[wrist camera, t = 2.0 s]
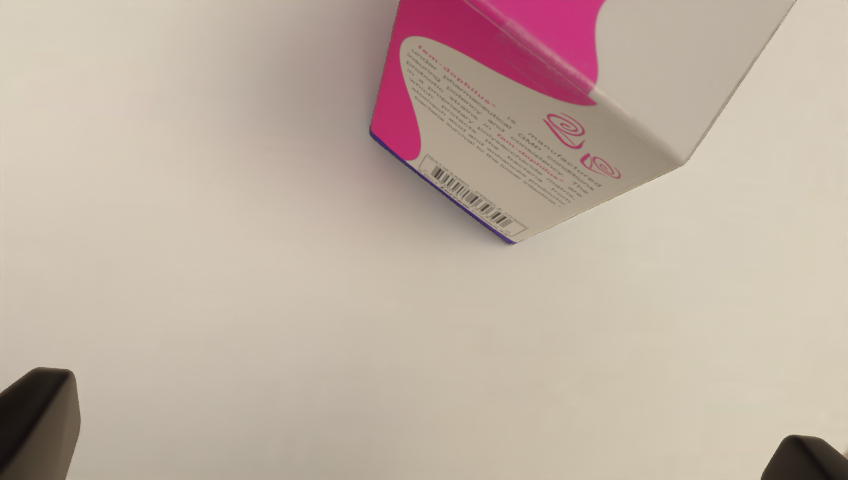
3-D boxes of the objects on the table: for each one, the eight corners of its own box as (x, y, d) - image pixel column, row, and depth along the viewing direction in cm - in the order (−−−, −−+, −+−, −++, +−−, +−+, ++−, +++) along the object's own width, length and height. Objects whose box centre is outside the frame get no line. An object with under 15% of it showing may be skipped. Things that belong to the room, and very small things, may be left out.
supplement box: (619, 104, 25) (870, -78, 13) (510, 250, 24) (681, 189, 12) (476, -11, 24) (607, -295, 13) (360, 133, 23) (394, -39, 12)
